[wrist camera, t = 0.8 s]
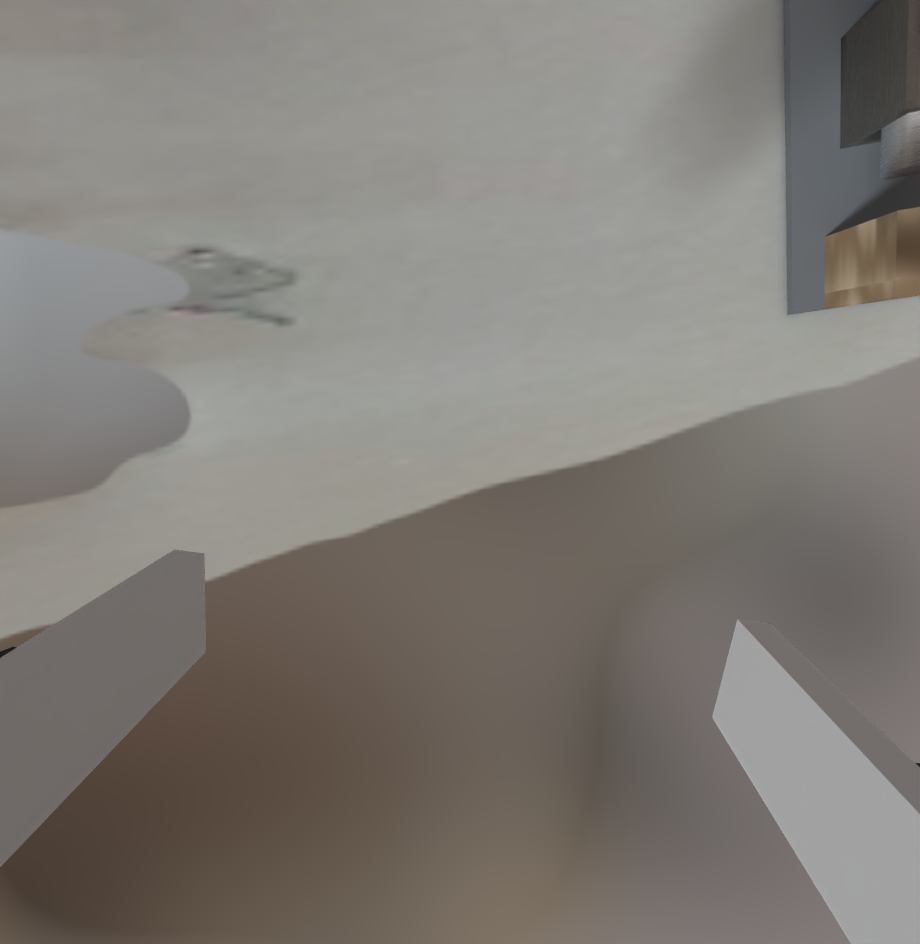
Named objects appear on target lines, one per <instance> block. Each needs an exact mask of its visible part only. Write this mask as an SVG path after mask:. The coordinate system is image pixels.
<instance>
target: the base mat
mask: <svg viewBox="0 0 920 944" xmlns="http://www.w3.org/2000/svg"><path fill="white" fill-rule="evenodd" d="M881 1H883V0H784V46H785V130H786V213H787V297H788V315H790V314H797V313H804V312H810V311H817V310H824V298H825V237H826V236H829V235H832V234H834V233H837V232H840V231H843V230H845V229H848V228H851V227H854V226H856V225H859V224H862V223H865V222H867V221H870V220H873V219H876V218H878V217H881V216H884V215H887V214H889V213H892V212H895V211H898V210H904V209H910V208H916V207H920V173H916V174H912V175H908V176H904V177H899V178H894V179H885V180H883V179H880V167H881V142H876V143H871V144H865V145H860V146H854V147H848V148H843V149H840V104H841V38H842V37H843V36H844V35H845V34H846V33H847V32H849V31H850V30H851V29H852V28H853V27H854V26H855V25H856V24H857V23H858V22H860V21H861V20H862V19H863V18H864V17H865V16H866V15H867V14H868V13H869V12H870V11H872V10H873V9H874V8H875V7H876V6H877V5H878V4H879V3H880V2H881Z"/></svg>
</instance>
